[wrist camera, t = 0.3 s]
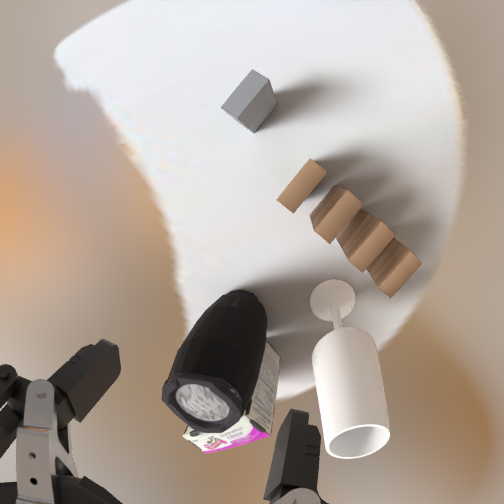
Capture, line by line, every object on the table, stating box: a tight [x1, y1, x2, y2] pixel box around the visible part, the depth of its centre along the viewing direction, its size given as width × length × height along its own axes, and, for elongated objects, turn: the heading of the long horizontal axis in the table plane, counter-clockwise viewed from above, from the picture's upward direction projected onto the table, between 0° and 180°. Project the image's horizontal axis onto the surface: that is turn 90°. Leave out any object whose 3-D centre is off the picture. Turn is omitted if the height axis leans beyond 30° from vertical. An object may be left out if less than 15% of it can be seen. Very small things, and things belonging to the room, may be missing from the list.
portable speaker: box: [162, 290, 267, 433], centre depth 31 cm, size 9×9×20 cm
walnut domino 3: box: [336, 209, 395, 273], centre depth 30 cm, size 2×5×10 cm, turn 143°
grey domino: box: [221, 69, 277, 133], centre depth 27 cm, size 2×5×10 cm, turn 143°
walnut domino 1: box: [277, 158, 327, 213], centre depth 29 cm, size 2×5×10 cm, turn 143°
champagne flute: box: [310, 279, 390, 459], centre depth 26 cm, size 7×7×24 cm
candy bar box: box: [183, 341, 280, 454], centre depth 35 cm, size 11×5×16 cm, turn 130°
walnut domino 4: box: [366, 238, 422, 298], centre depth 30 cm, size 2×5×10 cm, turn 143°
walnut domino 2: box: [310, 186, 363, 244], centre depth 29 cm, size 2×5×10 cm, turn 142°
